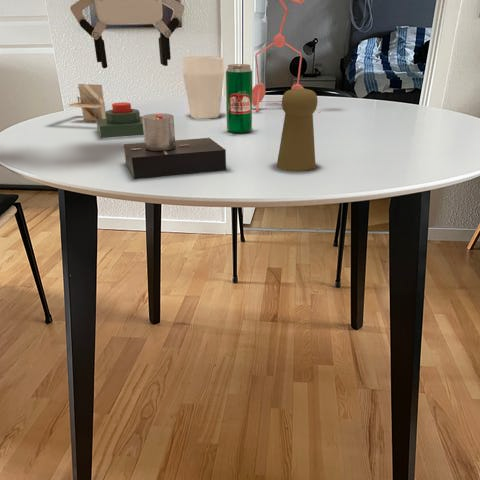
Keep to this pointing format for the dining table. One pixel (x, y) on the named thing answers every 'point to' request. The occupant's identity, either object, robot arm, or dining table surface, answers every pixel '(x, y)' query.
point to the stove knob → (159, 132)
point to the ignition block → (120, 124)
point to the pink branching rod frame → (258, 89)
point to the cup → (203, 85)
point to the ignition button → (121, 107)
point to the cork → (298, 131)
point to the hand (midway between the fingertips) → (134, 66)
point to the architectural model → (90, 102)
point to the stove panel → (175, 158)
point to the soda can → (239, 98)
